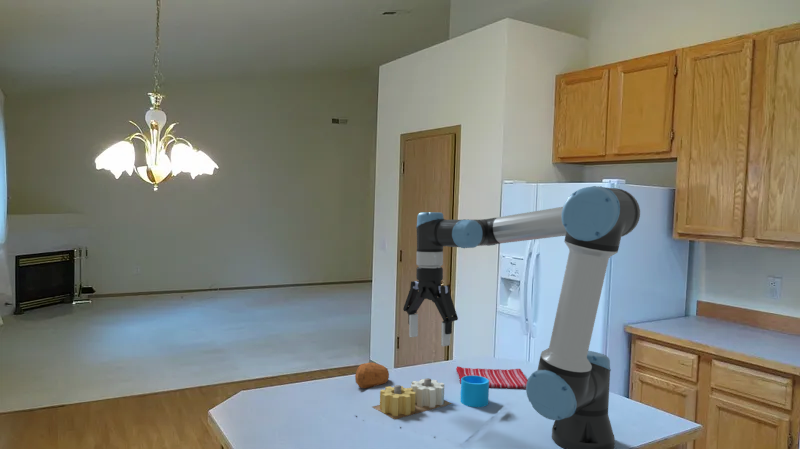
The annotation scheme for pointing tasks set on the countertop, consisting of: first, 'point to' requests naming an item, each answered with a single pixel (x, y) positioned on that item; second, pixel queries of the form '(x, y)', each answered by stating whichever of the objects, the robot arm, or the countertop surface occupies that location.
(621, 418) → the countertop surface
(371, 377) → the potato
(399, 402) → the ochre gear
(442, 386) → the cream gear
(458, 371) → the dish towel
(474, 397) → the mug
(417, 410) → the walnut board
